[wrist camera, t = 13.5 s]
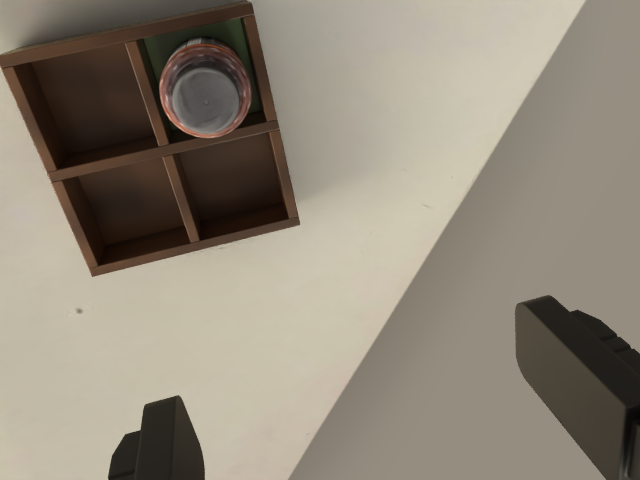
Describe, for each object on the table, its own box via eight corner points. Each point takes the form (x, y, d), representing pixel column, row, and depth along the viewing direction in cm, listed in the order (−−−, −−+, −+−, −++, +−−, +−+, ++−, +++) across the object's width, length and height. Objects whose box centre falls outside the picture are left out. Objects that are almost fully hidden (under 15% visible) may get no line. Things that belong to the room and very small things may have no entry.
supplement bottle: (259, 80, 44) (276, 110, 34) (203, 127, 44) (203, 170, 34) (208, 17, 41) (210, 28, 31) (149, 68, 42) (133, 96, 32)
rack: (16, 48, 40) (-5, 56, 36) (246, 0, 42) (251, 2, 38) (101, 251, 48) (92, 277, 44) (292, 204, 50) (300, 225, 46)
